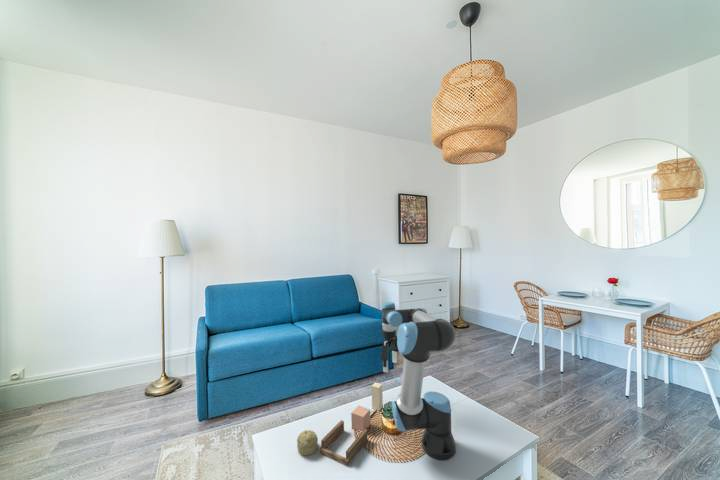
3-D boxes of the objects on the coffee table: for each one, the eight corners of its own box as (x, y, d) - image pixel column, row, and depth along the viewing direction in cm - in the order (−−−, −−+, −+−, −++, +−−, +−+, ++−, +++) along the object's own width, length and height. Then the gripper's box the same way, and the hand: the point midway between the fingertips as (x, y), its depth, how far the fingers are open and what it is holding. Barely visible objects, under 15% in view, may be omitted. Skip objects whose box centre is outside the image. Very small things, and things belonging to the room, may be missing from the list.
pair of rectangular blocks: (384, 407, 158) (384, 384, 158) (363, 433, 137) (362, 406, 137) (373, 404, 161) (373, 381, 161) (351, 428, 141) (351, 402, 141)
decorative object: (296, 455, 129) (289, 446, 123) (307, 432, 136) (301, 422, 131) (313, 463, 125) (307, 454, 120) (323, 439, 132) (318, 429, 127)
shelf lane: (367, 440, 132) (367, 429, 132) (347, 466, 118) (347, 454, 118) (341, 429, 140) (341, 420, 140) (319, 452, 125) (319, 441, 125)
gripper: (391, 323, 172) (392, 357, 171) (373, 335, 150) (375, 375, 149) (402, 324, 168) (403, 359, 168) (386, 337, 146) (388, 377, 146)
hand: (390, 367), depth 159 cm, fingers open, 13 cm apart
